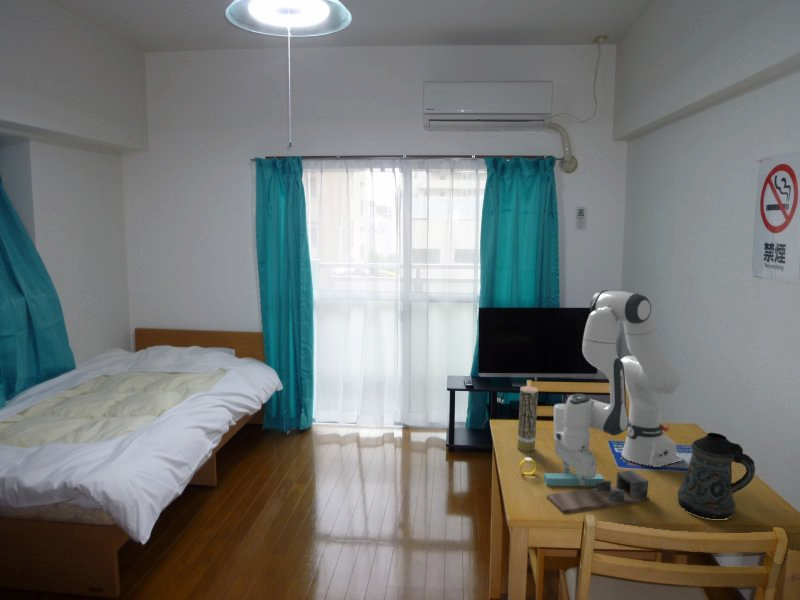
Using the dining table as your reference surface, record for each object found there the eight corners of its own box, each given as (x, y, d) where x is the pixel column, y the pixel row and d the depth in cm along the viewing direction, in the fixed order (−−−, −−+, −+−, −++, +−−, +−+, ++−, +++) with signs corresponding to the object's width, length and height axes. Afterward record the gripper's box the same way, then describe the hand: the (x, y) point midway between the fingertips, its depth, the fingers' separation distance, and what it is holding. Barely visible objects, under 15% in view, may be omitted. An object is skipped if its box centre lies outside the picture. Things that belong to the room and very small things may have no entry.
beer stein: (669, 493, 191) (675, 423, 187) (729, 497, 189) (737, 426, 185) (688, 520, 175) (696, 443, 171) (754, 524, 173) (764, 447, 169)
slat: (599, 481, 200) (600, 473, 199) (603, 486, 196) (604, 478, 195) (543, 481, 200) (543, 473, 199) (546, 486, 196) (546, 478, 195)
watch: (520, 476, 202) (520, 461, 202) (518, 473, 205) (518, 457, 204) (537, 475, 202) (536, 460, 201) (535, 472, 205) (535, 456, 204)
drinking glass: (570, 439, 236) (572, 405, 233) (567, 445, 230) (569, 410, 227) (553, 436, 239) (555, 402, 236) (550, 442, 232) (552, 407, 230)
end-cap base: (629, 486, 196) (630, 468, 195) (648, 500, 186) (650, 482, 185) (546, 497, 187) (547, 479, 186) (563, 513, 178) (564, 493, 177)
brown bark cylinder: (534, 453, 222) (538, 392, 218) (517, 451, 223) (520, 390, 219) (534, 446, 228) (537, 386, 224) (517, 444, 229) (520, 385, 226)
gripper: (602, 452, 186) (599, 491, 188) (568, 429, 206) (565, 465, 208) (585, 454, 184) (582, 493, 187) (552, 431, 204) (550, 466, 206)
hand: (573, 478), depth 197 cm, fingers open, 7 cm apart
